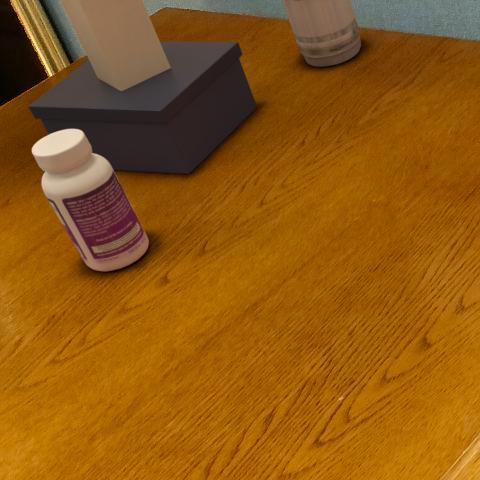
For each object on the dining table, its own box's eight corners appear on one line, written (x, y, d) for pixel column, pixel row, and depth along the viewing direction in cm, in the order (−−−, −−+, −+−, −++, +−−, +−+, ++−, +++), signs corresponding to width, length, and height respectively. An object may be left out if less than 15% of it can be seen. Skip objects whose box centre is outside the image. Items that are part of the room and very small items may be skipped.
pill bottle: (163, 236, 82) (107, 122, 74) (130, 274, 78) (68, 160, 71) (108, 234, 83) (48, 123, 76) (73, 272, 80) (7, 160, 73)
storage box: (61, 169, 93) (27, 106, 88) (139, 102, 100) (111, 41, 95) (190, 176, 88) (160, 110, 83) (261, 105, 95) (238, 41, 90)
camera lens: (366, 35, 102) (343, -48, 96) (360, 62, 98) (336, -23, 92) (307, 45, 103) (280, -37, 97) (298, 72, 99) (270, -12, 93)
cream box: (97, 78, 90) (39, -43, 82) (146, 55, 92) (93, -65, 84) (121, 91, 87) (63, -32, 80) (171, 68, 89) (118, -55, 81)
